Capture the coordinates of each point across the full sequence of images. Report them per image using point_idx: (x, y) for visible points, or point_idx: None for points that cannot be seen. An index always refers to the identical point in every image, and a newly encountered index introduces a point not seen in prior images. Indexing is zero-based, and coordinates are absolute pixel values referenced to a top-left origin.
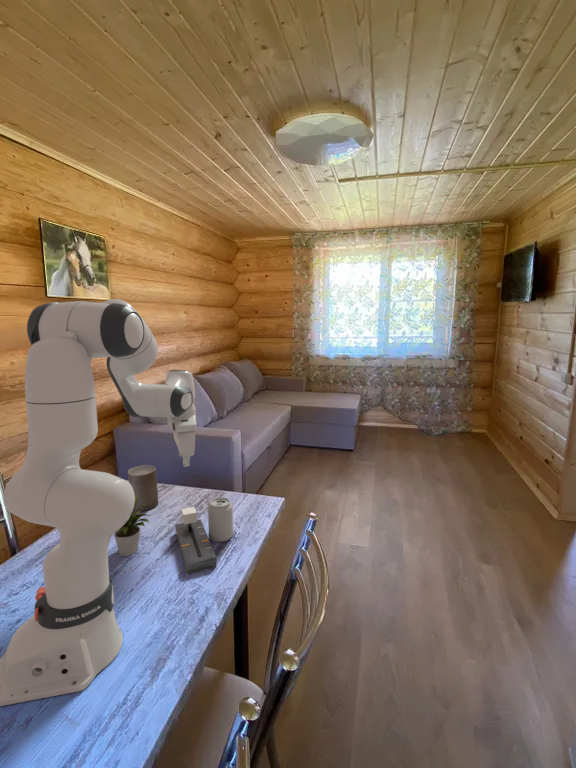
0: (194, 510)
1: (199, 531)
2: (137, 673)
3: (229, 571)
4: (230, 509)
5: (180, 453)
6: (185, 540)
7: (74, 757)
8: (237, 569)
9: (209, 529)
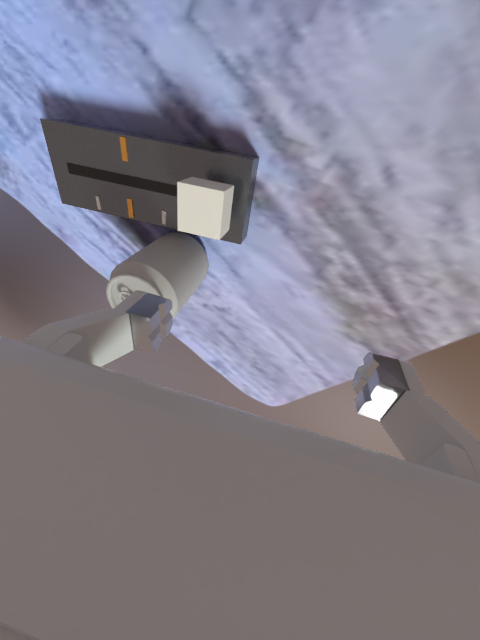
0: (192, 229)
1: None
2: None
3: (64, 215)
4: None
5: (372, 377)
6: (147, 158)
7: None
8: (68, 231)
9: (166, 239)
